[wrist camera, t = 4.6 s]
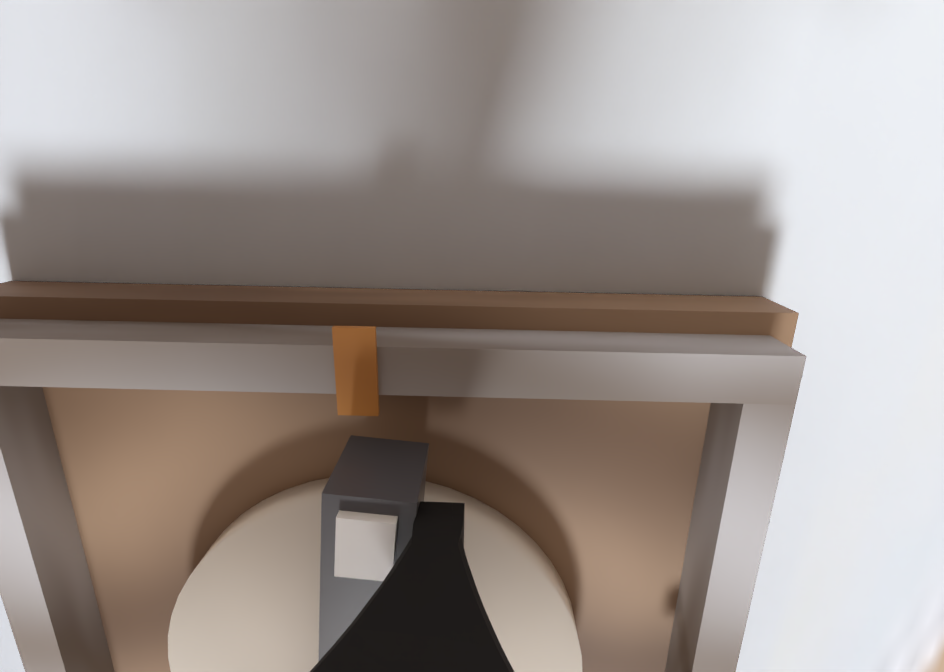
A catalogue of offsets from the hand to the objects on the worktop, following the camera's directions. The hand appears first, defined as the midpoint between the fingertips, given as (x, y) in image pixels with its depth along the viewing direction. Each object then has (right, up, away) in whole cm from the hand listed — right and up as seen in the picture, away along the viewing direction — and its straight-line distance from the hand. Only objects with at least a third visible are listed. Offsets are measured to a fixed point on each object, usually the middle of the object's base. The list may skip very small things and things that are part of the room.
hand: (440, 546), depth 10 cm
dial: (-2, -3, +3) cm, 5 cm away
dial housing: (-2, -3, +5) cm, 6 cm away
